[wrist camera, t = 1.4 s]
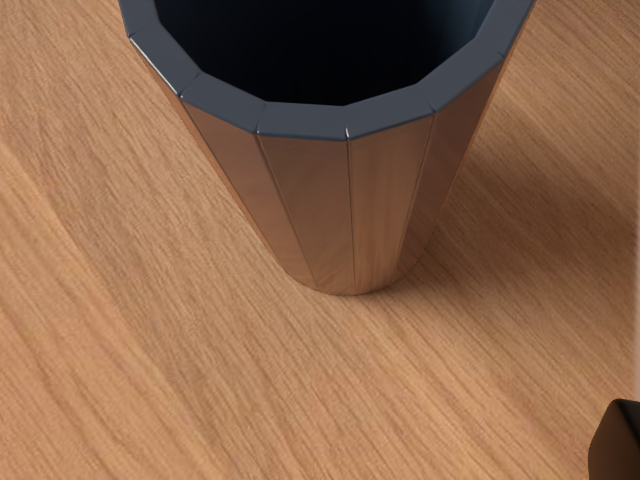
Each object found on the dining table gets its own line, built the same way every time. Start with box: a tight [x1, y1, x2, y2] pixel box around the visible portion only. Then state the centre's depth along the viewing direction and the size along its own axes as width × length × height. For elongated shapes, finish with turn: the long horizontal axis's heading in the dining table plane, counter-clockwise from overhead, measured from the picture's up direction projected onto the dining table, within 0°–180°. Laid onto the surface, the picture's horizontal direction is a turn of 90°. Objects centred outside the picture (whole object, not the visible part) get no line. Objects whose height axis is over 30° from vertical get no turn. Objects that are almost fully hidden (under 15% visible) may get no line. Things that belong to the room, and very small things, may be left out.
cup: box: [118, 0, 537, 296], centre depth 15 cm, size 6×6×13 cm
